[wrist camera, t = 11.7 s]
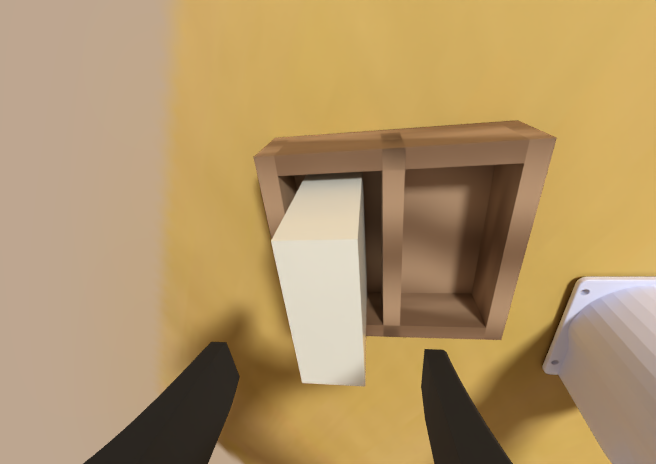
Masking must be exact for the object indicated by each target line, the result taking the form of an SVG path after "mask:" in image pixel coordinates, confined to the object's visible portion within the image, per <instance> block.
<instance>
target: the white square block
mask: <svg viewBox="0 0 656 464" xmlns="http://www.w3.org/2000/svg"><path fill="white" fill-rule="evenodd" d="M271 243H272V248H273V252H274V257H275V261H276V266H277V270H278V275H279V280H280V284H281V289H282V293H283V298H284V302H285V307H286V311H287V316H288V320H289V325H290V330H291V334H292V339H293V343H294V348H295V352H296V357H297V361H298V366H299V370H300V375H301V380H302V383H313V384H332V385H350V386H365V376H366V304H367V268H366V241H365V215H364V188H363V172H345V173H326V174H307V175H306V176H305V178H304V180H303V182H302V183H301V185H300V187H299V189H298V191H297V193H296V195H295V197H294V199H293V200H292V202H291V204H290V206H289V208H288V210H287V212H286V214H285V215H284V217H283V219H282V221H281V223H280V225H279V227H278V229H277V230H276V232H275V234H274V236H273V238H272V240H271Z"/></svg>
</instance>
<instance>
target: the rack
mask: <svg viewBox="0 0 656 464" xmlns="http://www.w3.org/2000/svg"><path fill="white" fill-rule="evenodd" d="M555 142H556V137H554V136H551V135H549V134H547V133H545V132H543V131H540V130H538V129H536V128H534V127H531V126H529V125H527V124H525V123H522V122H520V121H518V120H517V121H503V122H489V123H475V124H461V125H447V126H433V127H420V128H406V129H392V130H378V131H364V132H350V133H337V134H323V135H309V136H295V137H281V138H275V139H273V140H272V141H271V142H270V143H269V144H268V145H267V146H265V147H264V148H263V149H262V150H261V151H260V152H259V153H257V154H256V155H255V156H254V161H255V166H256V170H257V175H258V179H259V184H260V188H261V193H262V198H263V202H264V207H265V211H266V216H267V220H268V225H269V229H270V234H271V238H273V236H274V234H275V232H276V230H277V229H278V227H279V225H280V223H281V221H282V219H283V217H284V215H285V214H286V212H287V210H288V208H289V206H290V204H291V202H292V200H293V199H294V197H295V195H296V193H297V191H298V189H299V187H300V185H301V183H302V182H303V180H304V178H305V176H306V175H307V174H326V173H345V172H363V188H364V215H365V241H366V268H367V304H366V336H384V337H419V338H453V339H487V340H501V339H502V335H503V331H504V328H505V324H506V320H507V317H508V313H509V310H510V306H511V302H512V299H513V295H514V291H515V288H516V284H517V280H518V277H519V273H520V269H521V266H522V262H523V259H524V255H525V251H526V248H527V244H528V240H529V237H530V233H531V229H532V226H533V222H534V218H535V215H536V211H537V208H538V204H539V200H540V197H541V193H542V189H543V186H544V182H545V178H546V175H547V171H548V167H549V164H550V160H551V156H552V153H553V149H554V146H555Z"/></svg>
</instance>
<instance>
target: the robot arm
mask: <svg viewBox="0 0 656 464" xmlns="http://www.w3.org/2000/svg"><path fill="white" fill-rule="evenodd" d="M584 289H585V290H584ZM582 290H583V291H582ZM542 368H543V370H544V372H545V373H546V374H552V375H559V377H560V379H561V380H562V382H563V384H564V385H565V387H566V389H567V391H568V392H569V394H570V396H571V397H572V399H573V401H574V402H575V404H576V406H577V408H578V409H579V411H580V413H581V414H582V416H583V418H584V419H585V421H586V423H587V425H588V426H589V428H590V430H591V431H592V433H593V435H594V436H595V438H596V440H597V442H598V443H599V445H600V447H601V448H602V450H603V452H604V453H605V454H606V456H607V457H608V459H609V460H610V461H611V463H612V464H656V277H582V278H580V279H579V280H577V282H576V283H575V286H574V288H573V291H572V293H571V296H570V298H569V301H568V304H567V306H566V309H565V311H564V314H563V316H562V319H561V321H560V324H559V326H558V329H557V331H556V334H555V336H554V339H553V341H552V344H551V346H550V349H549V351H548V354H547V356H546V359H545V361H544V364H543V366H542ZM238 381H239V374H238V371H237V369H236V366H235V364H234V361H233V358H232V356H231V353H230V351H229V348H228V345H227V343H226V342H211V343H210V344H209V345H208V346H207V347H206V348H205V349H204V350H203V351H202V352H201V353H200V354H199V355H198V356H197V357H196V358H195V359H194V360H193V362H192V363H191V364H190V365H189V366H188V367H187V368H186V369H185V370H184V371H183V372H182V373H181V374H180V375H179V376H178V377H177V378H176V379H175V380H174V381H173V382H172V383H171V384H170V385H169V386H168V387H167V388H166V389H165V391H164V392H163V393H162V394H161V395H160V396H159V397H158V398H157V399H156V400H155V401H154V402H152V403H151V404H150V405H149V406H148V407H147V408H146V409H145V410H144V411H143V412H142V413H141V414H140V415H139V416H138V417H137V418H136V419H135V420H134V421H133V422H131V424H129V425H128V426H127V427H126V428H125V429H124V430H123V431H121V432H120V433H119V434H118V435H117V436H116V437H115V438H114V439H112V440H111V441H110V442H109V443H108V444H107V445H105V446H104V447H103V448H102V449H101V450H99V451H98V452H97V453H96V454H95V455H93V457H91V458H90V459H88V460H87V461H86V462H85V463H84V464H208V462H209V459H210V457H211V455H212V452H213V450H214V448H215V445H216V443H217V440H218V438H219V435H220V433H221V430H222V428H223V426H224V423H225V421H226V418H227V416H228V413H229V411H230V408H231V405H232V402H233V399H234V395H235V392H236V388H237V384H238ZM421 388H422V397H423V406H424V414H425V421H426V426H427V430H428V435H429V440H430V445H431V449H432V454H433V459H434V463H435V464H513V463H512V462H511V460H510V459H509V458H508V456H507V455H506V453H505V452H504V450H503V449H502V447H501V446H500V444H499V443H498V441H497V440H496V438H495V437H494V435H493V434H492V432H491V431H490V429H489V428H488V426H487V425H486V423H485V421H484V420H483V418H482V416H481V415H480V413H479V412H478V410H477V408H476V407H475V405H474V403H473V402H472V400H471V398H470V397H469V395H468V393H467V391H466V390H465V388H464V386H463V384H462V382H461V381H460V379H459V377H458V375H457V373H456V371H455V369H454V367H453V365H452V363H451V361H450V359H449V357H448V355H447V352H445V351H444V350H433V349H425V351H424V362H423V373H422V384H421Z"/></svg>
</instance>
